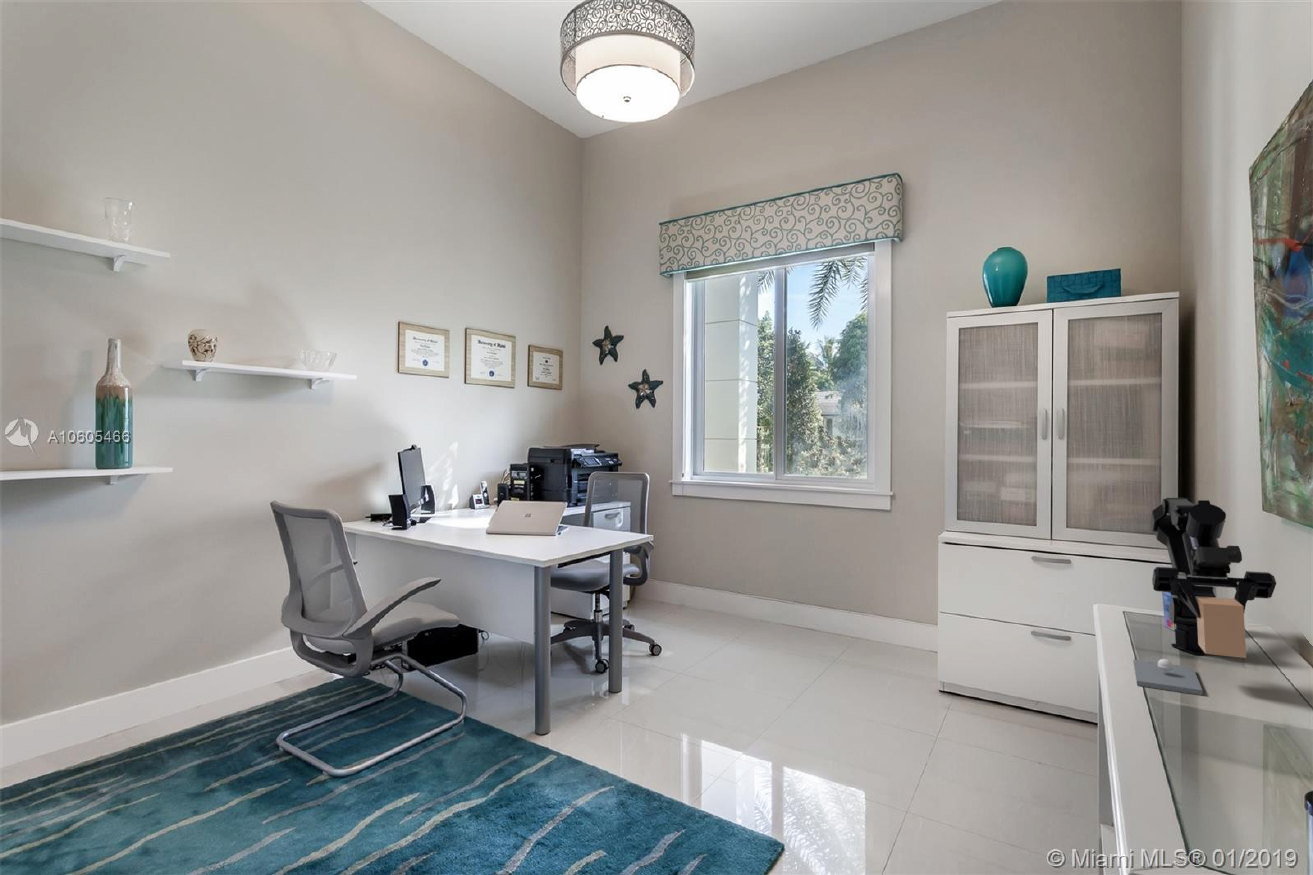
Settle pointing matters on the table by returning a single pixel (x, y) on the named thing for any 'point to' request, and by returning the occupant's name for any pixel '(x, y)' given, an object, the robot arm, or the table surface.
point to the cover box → (1221, 626)
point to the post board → (1167, 676)
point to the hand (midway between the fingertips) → (1219, 618)
